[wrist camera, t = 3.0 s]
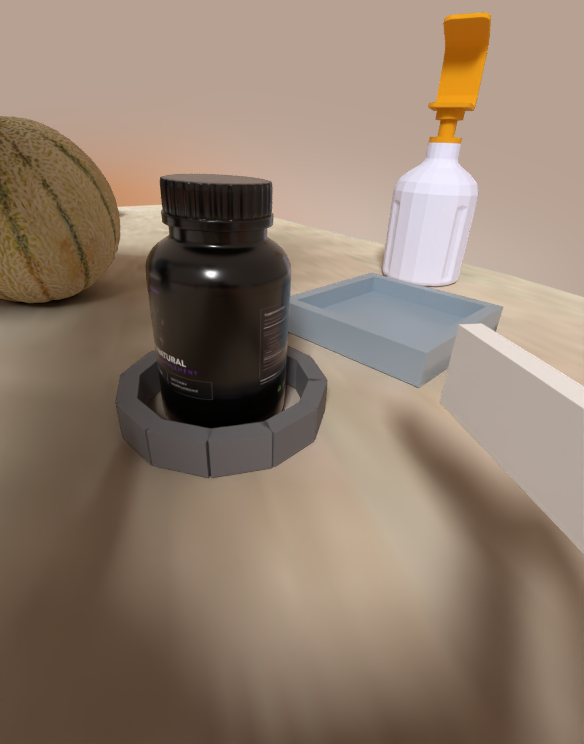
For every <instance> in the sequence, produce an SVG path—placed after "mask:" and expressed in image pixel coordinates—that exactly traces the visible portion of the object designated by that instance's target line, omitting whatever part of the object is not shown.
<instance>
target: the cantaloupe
mask: <svg viewBox="0 0 584 744" xmlns="http://www.w3.org/2000/svg"><path fill="white" fill-rule="evenodd" d="M119 240H120V218H119V211H118V208H117V204H116V200H115V197H114V194H113V192H112V190H111V187H110V185H109V183H108V181H107V180H106V178H105V177H104V175H103V174H102V173H101V171H100V169H99V168H98V167H97V166H96V164H95V163H94V162H93V161H92V159H91V158H90V157H89V156H88V155H86V154H85V153H84V152H83V151H82V150H81V149H80V148H79V147H78V146H77V145H76V144H74V143H73V142H72V141H71V140H70V139H68V138H67V137H65V136H63V135H62V134H60V133H59V132H58V131H57V130H54V129H52V128H50V127H48V126H46V125H44V124H41V123H39V122H36V121H33V120H29V119H24V118H18V117H0V298H1V299H5V300H11V301H22V302H26V303H37V302H49V301H51V300H61V299H64V298H67V297H70V296H73V295H75V294H77V293H80V291H82V290H85V289H87V288H88V287H90V286H91V285H93V284H94V283H96V281H97V280H98V279H99V278H100V277H101V276H102V275H103V274H104V273H105V271H106V270H107V268H108V267H109V266H110V265H111V263H112V261H113V260H114V258H115V253H116V252H117V250H118V244H119Z"/></svg>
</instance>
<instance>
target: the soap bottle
mask: <svg viewBox="0 0 584 744" xmlns="http://www.w3.org/2000/svg"><path fill="white" fill-rule="evenodd" d="M490 23H491V15H489V13H484V12H483V13H471V14H457V15H450V16H447V17H446V18H445V20H444V23H443V24H444V34H445V54H444V62H443V67H442V72H441V78H440V84H439V89H438V95H437V100H436V102H434V103H433V102H432V103H429V106H428V107H429V108H430V109H432V110H434V111H437V114H436V120H441V122H440V127H439V132H438V137H430V139H429V143H428V148H427V153H426V158H425V160H424V162H423V163H421V164H420V165H419V166H417V167H415V168H413V169H412V170H410V171H408V172H407V173H406V174H405V175H403V176H402V177H401V178H400V179H399V180H398V182H397V184H396V186H395V188H394V191H393V198H392V206H391V213H390V219H389V226H388V232H387V239H386V246H385V253H384V259H383V266H382V270H383V273H384V275H386V276H387V277H390V278H394V279H398V280H402V281H406V282H409V283H413V284H417V285H421V286H434V287H437V286H446V285H449V284H452V283H455V282H456V281H457V279H458V277H459V273H460V269H461V265H462V260H463V256H464V252H465V248H466V244H467V240H468V236H469V232H470V227H471V223H472V219H473V214H474V211H475V207H476V202H477V199H478V185H477V183H476V181H475V180H474V179H473V178H472V176H471V175H470V174H469V173H468V172H466V171H465V170H464V169H463V168H462V167H461V166H460V165H459V163H458V156H459V151H460V146H461V140H462V138H455V137H454V135H455V130H456V125H457V121H458V120H463V117H464V113H465V111H474V109H475V106H476V101H477V96H478V92H479V88H480V83H481V78H482V74H483V69H484V65H485V60H486V56H487V50H488V45H489V37H490Z"/></svg>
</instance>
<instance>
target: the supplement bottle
mask: <svg viewBox="0 0 584 744" xmlns="http://www.w3.org/2000/svg"><path fill="white" fill-rule="evenodd" d="M160 189H161V199H162V207H163V209H162V210H161V215H162V222H163V223H164V224H166V225H168V226H169V235H168V236H167V237H165V238H164V239H162V240H161V241H160V242H158V243H157V244H156V245H155V246H154V247H153V248H152V250H151V251H150V253H149V255H148V257H147V260H146V279H147V287H148V295H149V302H150V310H151V318H152V326H153V333H154V341H155V349H156V357H157V364H158V372H159V380H160V388H161V394H162V401H163V407H164V411H165V414H166V416H167V418H168V419H169V421H174V422H179V423H184V424H189V425H195V426H200V427H205V428H210V429H212V428H220V427H228V426H235V425H243V424H250V423H258V422H264V421H266V420H268V419H269V418H271V417H273V416H275V415H277V414H279V413H281V411H282V409H283V405H284V396H285V382H286V363H287V343H288V324H289V305H290V285H291V265H290V262H289V259H288V257H287V255H286V253H285V252H284V250H283V249H282V248H281V247H280V246H279V245H278V244H277V243H275V242H274V241H272V240H271V239H270V238H268V237H267V228H269V227H271V226H272V225H273V213H272V183H271V181H268V180H264V179H260V178H253V177H243V176H232V175H214V174H175V175H166V176H162V177H160Z"/></svg>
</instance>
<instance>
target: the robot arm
mask: <svg viewBox="0 0 584 744" xmlns="http://www.w3.org/2000/svg"><path fill="white" fill-rule="evenodd" d="M439 403H440V404H441V405H442V406H443V407H444V408H445V409H446V410H447V411H448V412H449V413H450V414H451V415H452V416H453V417H454V418H455V419H456V420H457V421H458V422H459V424H460V425H461V426H462V427H463V428H464V429H465V430H466V431H467V432H468V433H469V434H470V435H471V436H472V437H473V438H474V439H475V440H476V441H477V442H478V443H479V445H480V446H481V447H482V448H483V449H484V450H485V451H486V452H487V453H488V454H489V455H490V456H491V457H492V458H493V459H494V460H495V461H496V462H497V463H498V464H499V466H500V467H501V468H502V469H503V470H504V471H505V472H506V473H507V474H508V475H509V476H510V477H511V478H512V479H513V480H514V481H515V482H516V483H517V484H518V485H519V487H520V488H521V489H522V490H523V491H524V492H525V493H526V494H527V495H528V496H529V497H530V498H531V499H532V500H533V501H534V502H535V503H536V504H537V505H538V506H539V508H540V509H541V510H542V511H543V512H544V513H545V514H546V515H547V516H548V517H549V518H550V519H551V520H552V521H553V522H554V523H555V524H556V525H557V526H558V527H559V529H560V530H561V531H562V532H563V533H564V534H565V535H566V536H567V537H568V538H569V539H570V540H571V541H572V542H573V543H574V544H575V545H576V546H577V547H578V548H579V550H580V551H581V552H582V553H583V554H584V386H582V385H581V384H579V383H578V382H576V381H574V380H573V379H571V378H569V377H568V376H566V375H565V374H563V373H561V372H560V371H558V370H556V369H555V368H553V367H552V366H550V365H548V364H547V363H545V362H543V361H542V360H540V359H539V358H537V357H535V356H534V355H532V354H530V353H529V352H527V351H526V350H524V349H522V348H521V347H519V346H518V345H516V344H514V343H513V342H511V341H509V340H508V339H506V338H505V337H503V336H501V335H500V334H498V333H496V332H495V331H493V330H492V329H490V328H488V327H487V326H485V325H483V324H482V323H479V324H459V326H458V330H457V334H456V338H455V342H454V346H453V350H452V354H451V358H450V362H449V366H448V370H447V374H446V378H445V382H444V386H443V390H442V394H441V398H440V402H439Z"/></svg>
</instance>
